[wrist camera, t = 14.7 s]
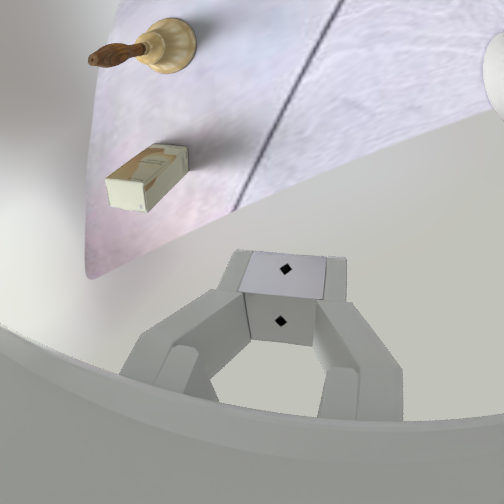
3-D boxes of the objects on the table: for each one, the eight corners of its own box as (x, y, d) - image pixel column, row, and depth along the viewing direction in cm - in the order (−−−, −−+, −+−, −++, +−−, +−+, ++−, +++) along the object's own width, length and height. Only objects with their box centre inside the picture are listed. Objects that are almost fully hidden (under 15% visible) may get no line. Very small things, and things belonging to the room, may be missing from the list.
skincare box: (188, 145, 43) (145, 183, 34) (189, 172, 46) (150, 214, 36) (150, 143, 44) (102, 178, 35) (152, 168, 47) (108, 207, 37)
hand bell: (186, 9, 30) (110, 4, 18) (203, 62, 35) (136, 81, 23) (135, 32, 33) (53, 45, 21) (152, 81, 37) (76, 111, 25)
